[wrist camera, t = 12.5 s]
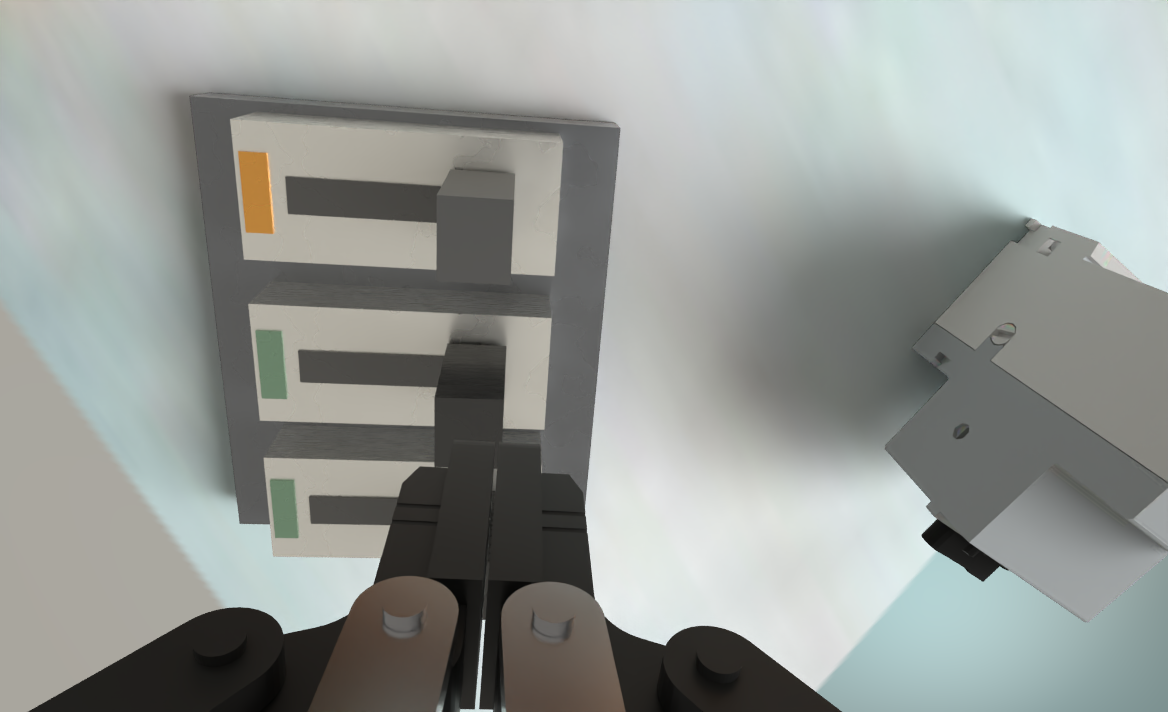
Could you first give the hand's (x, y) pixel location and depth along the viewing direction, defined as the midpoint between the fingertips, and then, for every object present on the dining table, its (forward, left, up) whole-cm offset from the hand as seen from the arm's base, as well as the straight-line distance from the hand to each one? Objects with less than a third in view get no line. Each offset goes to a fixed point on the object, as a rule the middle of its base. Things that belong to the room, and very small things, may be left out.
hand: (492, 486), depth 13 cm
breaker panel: (+6, -4, -23) cm, 24 cm away
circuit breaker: (+7, +24, -23) cm, 34 cm away
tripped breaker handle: (-1, -1, -18) cm, 18 cm away
